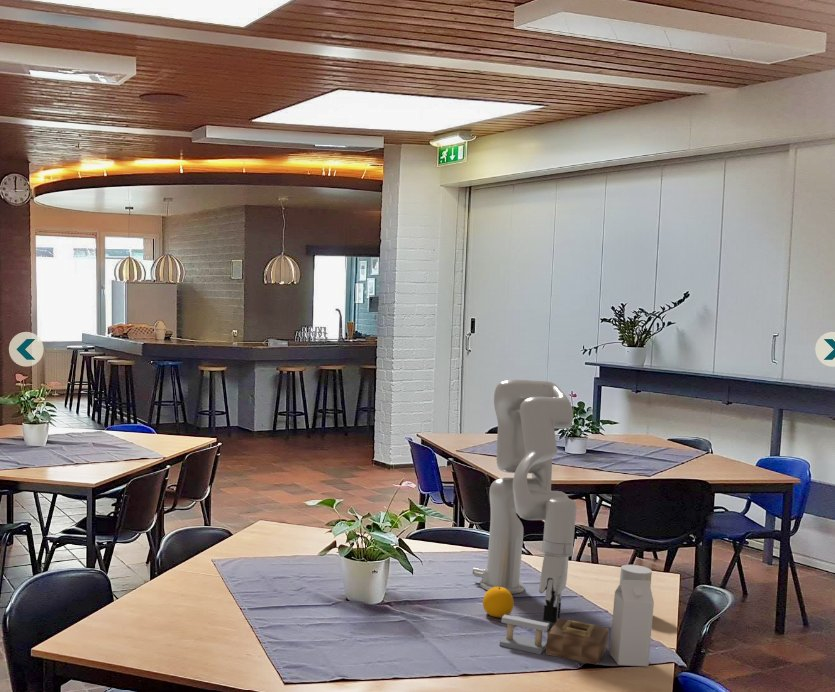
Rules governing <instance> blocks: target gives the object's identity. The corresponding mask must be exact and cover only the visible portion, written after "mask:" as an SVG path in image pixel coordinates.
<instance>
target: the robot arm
mask: <svg viewBox="0 0 835 692" xmlns="http://www.w3.org/2000/svg"><path fill="white" fill-rule="evenodd" d="M493 395H494V396H493V405H494V411H495V415H496V419H497V435H496V436H497V437H496V464H497V468H498V470H499V471H501V472H504V473H509V474H514V475H513V477H500V478H497V479H495V480H493V482H492V483H491V484H490V487H489V504H490V505H489V507H490V521H489V523H490V524H489V525H490V526H489V536H488V537H489V538H488V550H487V562H486V568H484V569H481V568H479V567H473V568H472V575H474V577H477V578H481V579H480V582H479V584H480V587H481V588H482V589H484V590H486V591H488V590H489V589H491V588H493V587H503V588H506V589H507V590H508V591H509V592H510V593H511V594H512V595H514V594H520V593H523V592H524V590H525V585H524V583H522V582H521V580H520V579H521V567H522V566H521V565H522V554H523V553H522V551H523V541H524V540H523V539H524V526H523V523H522V521H521V520H520V518H521V519H523V520H526V521H544V525H543V527H544V528H543V537H542V547H541V552H542V553H543V554H544V557H543V561H542V567H541V572H540V573H541V574H540V581H539V589H538V592H539V594H543V593H544V592H545V597H544V604H543V605H544V606H543V607H544V608H543V618H542V619H543V621H544V622H545V621H548V622H553V623H555V622H556V618H557V607H556V604H557V595H559V594H560V597H559V608H558V619H560V617H561V609H562V608H561V607H562V594H563V593H562V592H563V591H564V590H565V588H566V585H567V581H568V567H569V558H570V557H572V556H573V551H574V539H575V527H576V516H577V503H576V501H575V500H573V499H571V498H569V496H568V494H566V493H565V492H563V491H559V490H552V475H553V473H552V472H553V458H554V457H556V456H557V453H558V447H557V445H558V444H557V440H556V439H557V438H556V433H555V429H560V430H562V429H568V428H569V427H571V425H572V424H573V421H574V410H573V406H572V404H571V402H570V400H569V398H568V397H567V395H566V394H565V393H564V392H563V391H562V390H561V388H559V386H558V385H557V384H556V383H553V382H552V381H544V380H529V379H506V380H503V381H500V382H499V383H498V384H497V385H496V387H495V389H494V394H493ZM528 474H531V477H528ZM518 516H519V517H518ZM552 592H555V593H554V594H553V593H552ZM552 597H554V599H553V598H552Z"/></svg>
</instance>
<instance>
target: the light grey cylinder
mask: <svg viewBox="0 0 835 692" xmlns="http://www.w3.org/2000/svg"><path fill="white" fill-rule="evenodd" d="M652 573H653V570H652V569H650V568H649V567H646V566H641V565H636V564H623V565H621V566H620V576H619V581H620V580H641V581H650V587H651V585H652V575H653V574H652Z"/></svg>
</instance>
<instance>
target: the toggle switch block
mask: <svg viewBox="0 0 835 692" xmlns="http://www.w3.org/2000/svg"><path fill="white" fill-rule="evenodd" d="M609 630H610V629H609V627H604V626H600V625H596V624H593V623H592V624H591V623H587V622H582V621H577V620H572V619H564V618H558V619H557V622H556V623H555V625H554V626H553V627H552V628H551V629H550V631H547V633H546V635H547V636H546V642H547V646H546V648H545V650H546V651H545V654H546V655H549V656H553V657H557V658H558V657H559V658H563V659H568V660H573V661H577V662H582V663H587V664H592V665H596V666H597V665H598V664H599V662H601V659H602V657H603V655H604V654H605V652H606V651H607V649H608V640H609Z"/></svg>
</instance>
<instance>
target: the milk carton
mask: <svg viewBox="0 0 835 692" xmlns="http://www.w3.org/2000/svg"><path fill="white" fill-rule="evenodd" d="M654 604H655V602H654V597H653V592H652V588H651V586H650V581H641V580H620V579H619V585H618V586H617V588H616V589H615V591H614V598H613V609H612V610H613V611H612V620H611V632H610V633H611V634H610V642H609V643H610V644H609V655H610V657H612V659H613V660H614V661H615V662H616V664H617V665H619V666H628V667H629V666H631V667H649V661H650V660H649V659H650V651H651V641H652V639H651V638H652V627H653V615H654V606H655V605H654Z"/></svg>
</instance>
